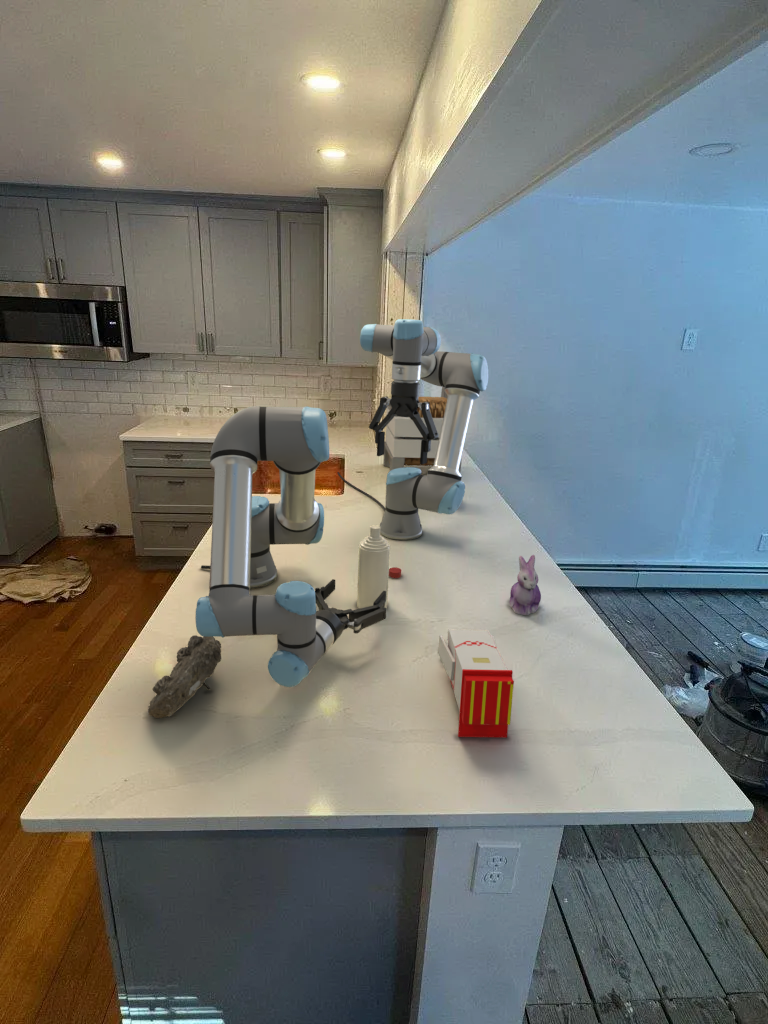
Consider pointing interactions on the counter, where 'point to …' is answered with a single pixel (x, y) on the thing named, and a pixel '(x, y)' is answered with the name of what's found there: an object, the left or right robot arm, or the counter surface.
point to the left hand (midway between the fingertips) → (359, 589)
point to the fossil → (186, 676)
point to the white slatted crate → (412, 436)
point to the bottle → (372, 568)
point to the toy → (478, 682)
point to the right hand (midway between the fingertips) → (401, 459)
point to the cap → (395, 572)
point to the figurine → (525, 588)
